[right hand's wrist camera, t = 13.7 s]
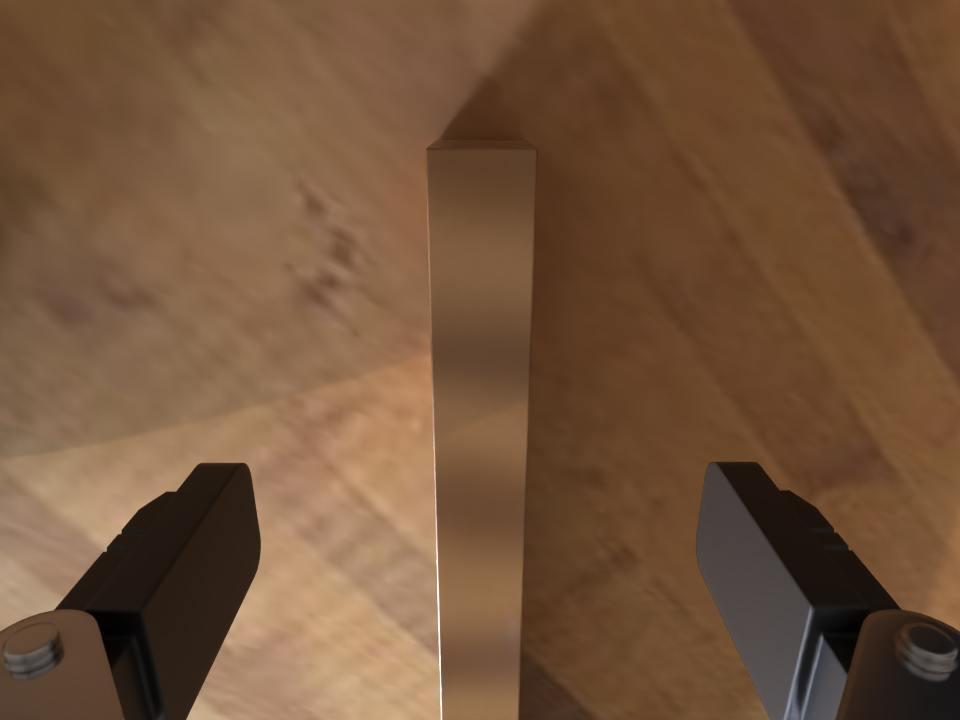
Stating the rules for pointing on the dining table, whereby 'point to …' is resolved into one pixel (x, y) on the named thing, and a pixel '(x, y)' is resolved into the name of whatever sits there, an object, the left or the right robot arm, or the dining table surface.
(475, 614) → the beam
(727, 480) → the right robot arm
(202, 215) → the dining table surface
